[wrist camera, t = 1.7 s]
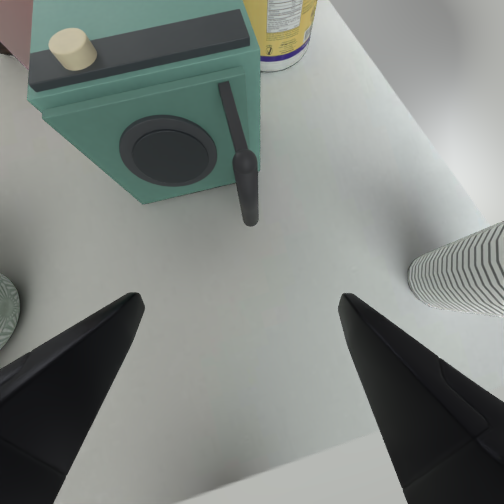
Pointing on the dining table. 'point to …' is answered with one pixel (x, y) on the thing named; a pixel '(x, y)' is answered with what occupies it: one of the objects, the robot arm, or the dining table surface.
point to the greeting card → (16, 28)
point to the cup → (463, 274)
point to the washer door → (169, 137)
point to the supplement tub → (281, 30)
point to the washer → (138, 49)
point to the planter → (8, 309)
